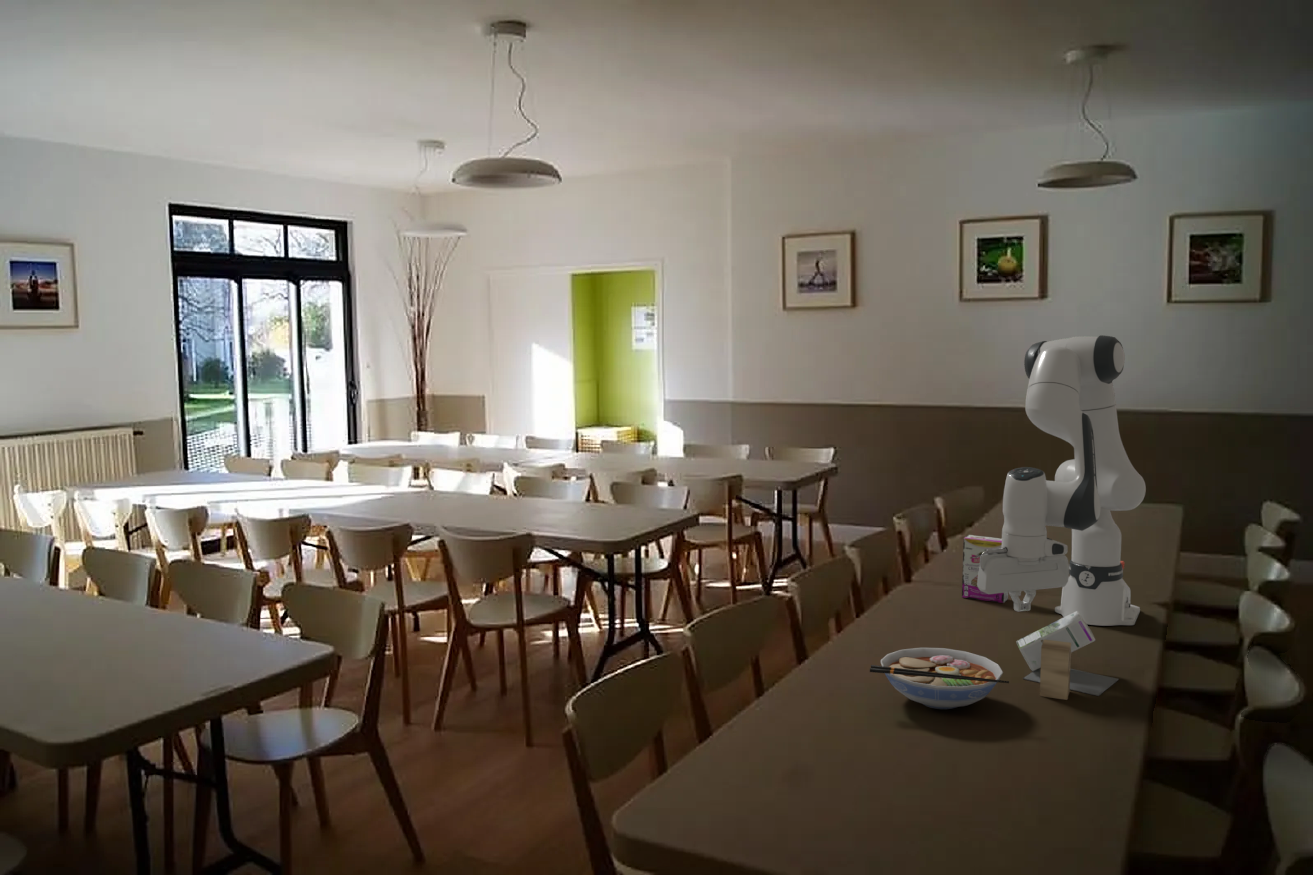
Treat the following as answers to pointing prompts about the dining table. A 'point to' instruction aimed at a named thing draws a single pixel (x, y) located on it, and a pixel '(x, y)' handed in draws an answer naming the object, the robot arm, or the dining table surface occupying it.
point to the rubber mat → (1081, 681)
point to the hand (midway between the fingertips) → (1022, 610)
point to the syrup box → (1055, 638)
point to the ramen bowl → (940, 676)
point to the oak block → (1055, 669)
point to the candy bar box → (977, 567)
